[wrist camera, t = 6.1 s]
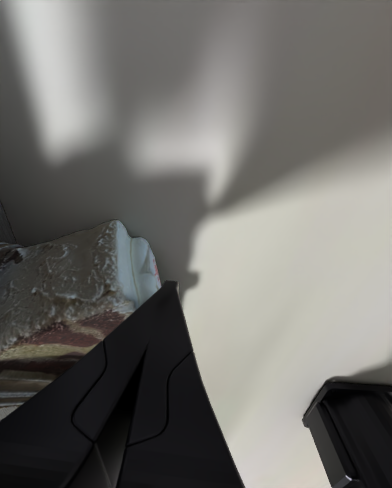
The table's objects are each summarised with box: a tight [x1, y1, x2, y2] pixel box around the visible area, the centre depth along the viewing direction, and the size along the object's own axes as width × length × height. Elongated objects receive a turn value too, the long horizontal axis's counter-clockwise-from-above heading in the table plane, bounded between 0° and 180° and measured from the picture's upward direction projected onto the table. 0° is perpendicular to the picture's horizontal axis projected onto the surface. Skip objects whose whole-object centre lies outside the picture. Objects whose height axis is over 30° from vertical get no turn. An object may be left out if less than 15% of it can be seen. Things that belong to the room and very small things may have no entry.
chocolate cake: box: [0, 220, 162, 409], centre depth 10 cm, size 10×7×12 cm
